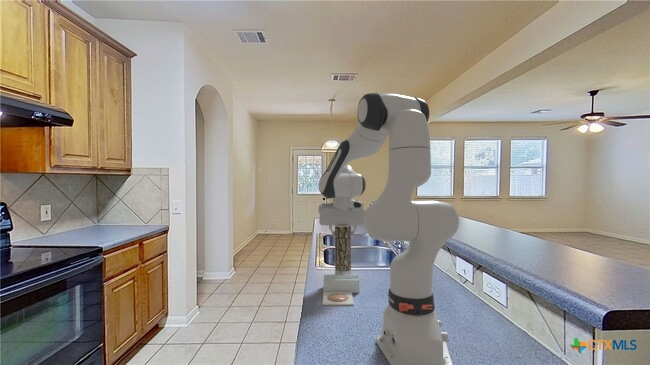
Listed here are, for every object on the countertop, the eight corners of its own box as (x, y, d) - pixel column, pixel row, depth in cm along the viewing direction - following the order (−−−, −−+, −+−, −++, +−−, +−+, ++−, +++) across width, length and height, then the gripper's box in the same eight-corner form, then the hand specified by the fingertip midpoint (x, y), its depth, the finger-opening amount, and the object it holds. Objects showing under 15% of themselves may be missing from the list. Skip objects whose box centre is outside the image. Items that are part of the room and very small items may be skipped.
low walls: (359, 292, 124) (359, 280, 124) (323, 292, 125) (323, 279, 125) (358, 286, 131) (358, 274, 131) (324, 286, 131) (324, 274, 131)
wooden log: (345, 286, 132) (345, 226, 131) (332, 282, 136) (331, 224, 135) (354, 281, 137) (354, 224, 136) (341, 278, 141) (340, 222, 140)
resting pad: (353, 305, 112) (353, 303, 112) (322, 305, 113) (322, 303, 113) (351, 293, 123) (351, 292, 123) (323, 293, 124) (323, 291, 124)
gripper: (318, 203, 133) (318, 236, 133) (367, 203, 132) (367, 237, 132) (318, 202, 139) (318, 234, 139) (365, 202, 138) (365, 234, 139)
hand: (342, 235), depth 136 cm, fingers closed on wooden log, 7 cm apart
